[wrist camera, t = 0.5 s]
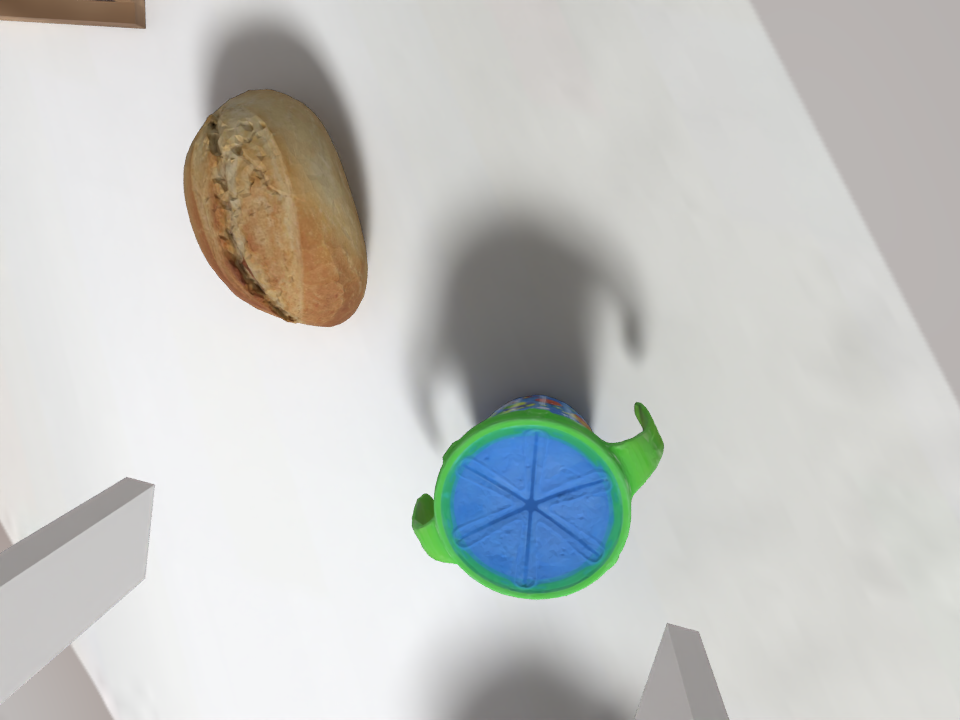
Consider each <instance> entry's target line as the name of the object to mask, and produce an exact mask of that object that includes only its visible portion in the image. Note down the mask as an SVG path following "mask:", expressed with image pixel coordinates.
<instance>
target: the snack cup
mask: <svg viewBox="0 0 960 720" xmlns="http://www.w3.org/2000/svg"><path fill="white" fill-rule="evenodd" d="M634 412H635V415H636V417H637V419H638V421H639V422H640V424H641V426H642V428H643V431H642V432H641V433H639V434H638V435H636V436H635V437H633V438H631V439H628V440H625V441H622V442H618V443H607V442H605V441H603V440H601V439H600V438H599V437H598V436H597V435H595V434H594V433H593V431H592V430H591V428H590V427H589V426H588V424H587V422H586V421H584V419H583V417H582V416H581V415H579V414H578V413H577V412H576V411H575V410H574V409H573V408H571V407H570V406H569V405H567V404H566V403H564V402H562V401H559V400H557V399H554V398H550V397H548V396H545V395H533V396H526V397H520V398H517V399H515V400H512V401H510V402H508V403H506V404H505V405H503V406H502V407H501V408H499V409H498V410H496V411H495V412H494V413H493V414H492V415H491V416H490V417H489V418H488V419H486V420H484V421H483V422H481V423H479V424H478V425H476V426H474V427H473V428H472V429H470V430H469V431H468V432H467V433H466V434H465V435H464V436H463V437H462V438H461V439H459V440H457V441H455V442H454V443H452V445H451V446H450V447H449V449H448V450H447V451H446V453H445V454H444V456H443V465H442V467H441V469H440V472H439V475H438V478H437V482H436V486H435V493H434V500H433V499H432V497H431V496H430V495H428V494H423V495H422V496H421V497H420V498H418V499H417V502H416V504H415V508H414V512H413V516H412V528H413V530H414V532H415V534H416V536H417V538H418V539H419V541H420V543H421V545H422V547H423V549H424V550H425V551H426V553H427V554H428V555H429V556H430V557H431V558H433V559H435V560H438V561H441V562H444V563H454V564H458V565H459V566H460V567H461V568H462V569H463V570H464V571H465V572H466V573H467V574H468V575H469V576H470V577H472V578H473V579H474V580H476V581H477V582H479V583H481V584H482V585H484V586H485V587H488V588H490V589H492V590H493V591H496V592H499V593H501V594H504V595H508V596H513V597H517V598H524V599H550V598H557V597H562V596H567V595H569V594H572V593H574V592H577V591H579V590H581V589H583V588H585V587H587V586H588V585H590V584H592V583H593V582H594V581H596V580H597V579H599V578H600V577H601V576H602V575H603V574H604V573H605V572H606V571H607V570H608V569H610V568H611V567H612V566H613V565H614V564H615V563H616V562H617V560H618V558H619V554H620V553H621V551H622V549H623V547H624V545H625V542H626V539H627V537H628V533H629V528H630V522H631V500H632V497H633V495H634V494H635V493H636V491H637V490H638V489H639V488H640V487H641V486H642V485H643V484H644V483H645V482H646V480H647V479H648V478H649V477H650V476H651V474H652V473H653V472H654V470H655V469H656V467H657V466H658V464H659V461H660V459H661V457H662V454H663V449H664V444H663V441H662V438H661V436H660V435H659V433H658V430H657V428H656V426H655V424H654V421H653V419H652V417H651V415H650V413H649V411H648V410H647V409H646V407H645V406H644V405H643V404H642V403H639V402H636V403H635V406H634Z"/></svg>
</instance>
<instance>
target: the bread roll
mask: <svg viewBox="0 0 960 720" xmlns="http://www.w3.org/2000/svg"><path fill="white" fill-rule="evenodd" d="M184 195H185V201H186V206H187V210H188V214H189V218H190V222H191V225H192V228H193V231H194V234H195V237H196V239H197V242H198V244H199V246H200V248H201V250H202V252H203V254H204V256H205V258H206V260H207V261H208V263H209V265H210V266H211V267H212V269H213V270H214V271H215V272H216V274H217V275H218V276H219V278H220V279H221V280H222V281H223V282H224V283H225V284H226V285H227V286H228V288H229V289H230V290H231V291H232V292H233V293H234V294H235V295H236V296H238V297H239V298H240V299H242V300H243V301H245V302H247V303H249V304H250V305H252V306H253V307H255V308H257V309H259V310H261V311H264V312H266V313H269V314H271V315H274V316H276V317H279V318H281V319H283V320H285V321H287V322H292V323H302V324H307V325H312V326H321V327H332V326H335V325H338V324H341V323H343V322H344V321H346V320H347V319H349V318H350V317H351V316H352V315H353V314H354V313H355V311H356V310H357V308H358V306H359V304H360V302H361V301H362V299H363V297H364V293H365V289H366V284H367V271H368V265H367V254H366V247H365V242H364V238H363V233H362V229H361V225H360V221H359V217H358V214H357V210H356V207H355V204H354V200H353V197H352V194H351V191H350V188H349V185H348V181H347V178H346V175H345V172H344V169H343V167H342V164H341V161H340V159H339V156H338V154H337V152H336V150H335V147H334V145H333V143H332V141H331V138H330V137H329V135H328V133H327V131H326V129H325V127H324V126H323V124H322V123H321V121H320V120H319V119H318V117H317V116H316V115H315V114H314V113H313V112H312V111H311V110H310V109H309V108H308V107H306V106H305V105H304V104H303V103H301V102H300V101H298V100H295V99H294V98H292V97H290V96H288V95H286V94H283V93H280V92H277V91H274V90H269V89H264V90H248V91H247V92H245V93H243V94H240V95H238V96H236V97H234V98H231V99H229V100H228V101H227V102H226V103H225V104H223V105H222V106H221V107H220V108H219V109H218V110H217V111H216V112H214V113H213V114H211V115H210V116H209V117H208V118H207V120H206V122H205V123H204V124H203V126H202V127H201V129H200V130H199V132H198V133H197V135H196V136H195V138H194V140H193V141H192V143H191V146H190V148H189V151H188V153H187V156H186V160H185V165H184Z"/></svg>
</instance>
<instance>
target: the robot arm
mask: <svg viewBox="0 0 960 720" xmlns="http://www.w3.org/2000/svg"><path fill="white" fill-rule="evenodd" d="M154 488H155V485H154V484H150V483H147V482H143V481H139V480H136V479H132V478H128V477H126V478H124V479H123V480H121V481H119V482H118V483H116V484H114V485H113V486H111V487H109V488H108V489H106V490H104V491H103V492H101V493H99V494H98V495H96V496H94V497H93V498H91V499H89V500H88V501H86V502H84V503H83V504H81V505H79V506H78V507H76V508H74V509H73V510H71V511H69V512H68V513H66V514H64V515H63V516H61V517H59V518H58V519H56V520H54V521H53V522H51V523H49V524H48V525H46V526H44V527H43V528H41V529H39V530H38V531H36V532H34V533H33V534H31V535H29V536H28V537H26V538H24V539H23V540H21V541H19V542H18V543H16V544H14V545H13V546H11V547H9V548H8V549H6V550H4V551H3V552H1V553H0V705H1V704H2V703H3V702H4V701H6V700H7V699H8V698H9V697H10V696H11V695H12V694H14V693H15V692H16V691H17V690H18V689H19V688H20V687H22V686H23V685H24V684H25V683H26V682H27V681H28V680H30V679H31V678H32V677H33V676H34V675H35V674H36V673H37V672H39V671H40V670H41V669H42V668H43V667H44V666H46V665H47V664H48V663H49V662H50V661H51V660H52V659H54V658H55V657H56V656H57V655H58V654H59V653H60V652H62V651H63V650H64V649H65V648H66V647H67V646H68V645H70V644H71V643H72V642H73V641H74V640H75V639H76V638H78V637H79V636H80V635H81V634H82V633H83V632H84V631H86V630H87V629H88V628H89V627H90V626H91V625H92V624H94V623H95V622H96V621H97V620H98V619H99V618H100V617H102V616H103V615H104V614H105V613H106V612H107V611H109V610H110V609H111V608H112V607H113V606H114V605H115V604H117V603H118V602H119V601H120V600H121V599H122V598H123V597H125V596H126V595H127V594H128V593H129V592H130V591H131V590H133V589H134V588H135V587H136V586H137V585H138V584H139V583H141V582H142V581H143V580H144V579H145V575H146V565H147V555H148V546H149V536H150V526H151V517H152V507H153V497H154ZM635 719H636V720H729V718H728V715H727V712H726V709H725V706H724V703H723V700H722V697H721V695H720V692H719V689H718V686H717V683H716V680H715V677H714V674H713V672H712V669H711V666H710V663H709V660H708V657H707V654H706V651H705V648H704V646H703V643H702V640H701V637H700V634H699V632H698V631H694V630H691V629H687V628H683V627H680V626H676V625H672V624H668V623H667V625H666V628H665V630H664V633H663V636H662V639H661V642H660V645H659V648H658V651H657V654H656V657H655V660H654V662H653V665H652V668H651V671H650V674H649V677H648V680H647V683H646V686H645V689H644V692H643V694H642V697H641V700H640V703H639V706H638V709H637V712H636V715H635Z"/></svg>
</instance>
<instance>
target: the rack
mask: <svg viewBox="0 0 960 720" xmlns="http://www.w3.org/2000/svg"><path fill="white" fill-rule="evenodd" d="M114 1H116V2H113V1H95V0H0V20H7V21H24V22H41V23H57V24H74V25H91V26H107V27H124V28H141V29H146V27H145V0H114Z"/></svg>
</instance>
